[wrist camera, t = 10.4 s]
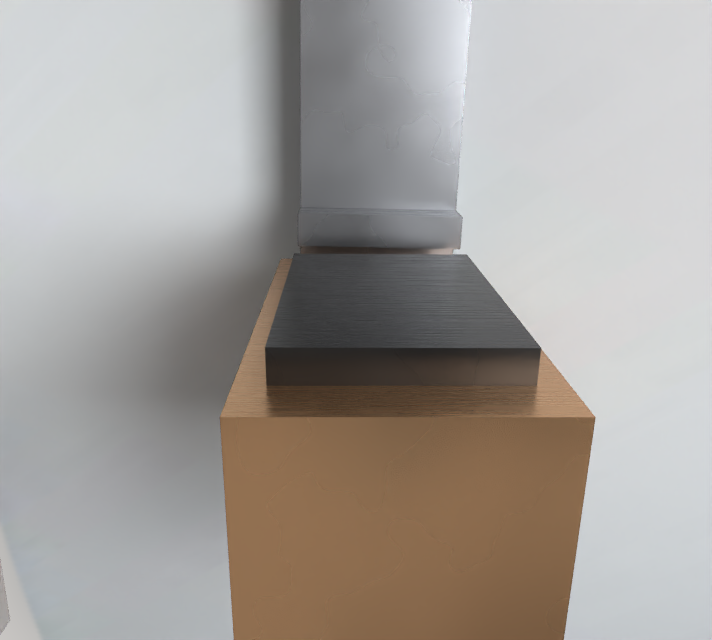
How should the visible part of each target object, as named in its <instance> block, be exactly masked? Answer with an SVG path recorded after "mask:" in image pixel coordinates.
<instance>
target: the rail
mask: <svg viewBox="0 0 712 640" xmlns="http://www.w3.org/2000/svg"><path fill="white" fill-rule="evenodd" d="M471 5H472V0H300V161H301V207H300V209H299V212H298V246H301V254H452V255H453V249H460V245H461V232H462V219H463V217H462V216H461V215H460V214H459V213H458V212H457V211H456V203H457V190H458V176H459V163H460V150H461V137H462V124H463V111H464V97H465V84H466V71H467V58H468V45H469V32H470V18H471Z"/></svg>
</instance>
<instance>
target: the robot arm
mask: <svg viewBox="0 0 712 640" xmlns="http://www.w3.org/2000/svg"><path fill="white" fill-rule="evenodd" d="M9 621H10V617H9V610H8V604H7V598H6V592H5V586H4V579H3V574H2V567H1V561H0V634H1V633H2V631H3V630H4V628H5V627H6V625H7V623H8V622H9Z"/></svg>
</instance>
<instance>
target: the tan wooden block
mask: <svg viewBox="0 0 712 640" xmlns="http://www.w3.org/2000/svg"><path fill="white" fill-rule="evenodd" d="M594 424H595V416H594V415H593V414H592V412H591V411H590V410H589V409H588V407H587V406H586V405H585V404H584V402H583V401H582V400H581V399H580V397H579V396H578V395H577V393H576V392H575V391H574V390H573V388H572V387H571V386H570V385H569V383H568V382H567V381H566V380H565V378H564V377H563V376H562V375H561V373H560V372H559V371H558V370H557V368H556V367H555V366H554V364H553V363H552V362H551V361H550V359H549V358H548V357H547V356H546V354H545V353H544V352H543V351H542V349H541V347H540V346H539V345H538V344H537V342H536V341H535V340H534V338H533V337H532V336H531V335H530V333H529V332H528V331H527V330H526V328H525V327H524V326H523V325H522V323H521V322H520V321H519V320H518V318H517V317H516V316H515V315H514V313H513V312H512V311H511V310H510V308H509V307H508V306H507V305H506V303H505V302H504V301H503V300H502V298H501V297H500V296H499V294H498V293H497V292H496V291H495V289H494V288H493V287H492V286H491V284H490V283H489V282H488V281H487V279H486V278H485V277H484V276H483V274H482V273H481V272H480V271H479V269H478V268H477V267H476V266H475V264H474V263H473V262H472V261H471V259H470V258H469V257H468V256H467V255H452V254H294V256H293V259H281V260H280V263H279V265H278V268H277V270H276V273H275V275H274V278H273V281H272V283H271V286H270V288H269V291H268V294H267V296H266V299H265V301H264V304H263V307H262V309H261V312H260V314H259V317H258V320H257V322H256V325H255V327H254V330H253V333H252V335H251V338H250V340H249V343H248V346H247V348H246V351H245V353H244V356H243V359H242V361H241V364H240V366H239V369H238V372H237V374H236V377H235V379H234V382H233V385H232V387H231V390H230V392H229V395H228V397H227V400H226V403H225V405H224V408H223V410H222V413H221V416H220V426H221V442H222V458H223V474H224V490H225V506H226V521H227V537H228V553H229V569H230V585H231V601H232V617H233V633H234V640H564V633H565V626H566V619H567V612H568V605H569V598H570V591H571V584H572V577H573V570H574V563H575V556H576V549H577V542H578V535H579V528H580V521H581V514H582V507H583V501H584V494H585V487H586V480H587V473H588V466H589V459H590V452H591V445H592V438H593V431H594Z"/></svg>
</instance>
